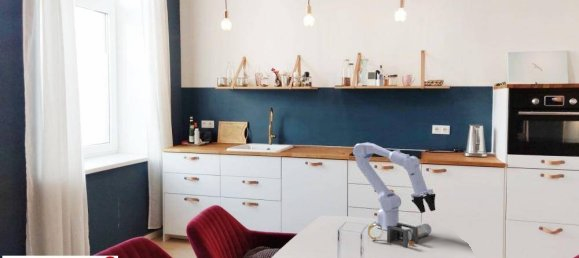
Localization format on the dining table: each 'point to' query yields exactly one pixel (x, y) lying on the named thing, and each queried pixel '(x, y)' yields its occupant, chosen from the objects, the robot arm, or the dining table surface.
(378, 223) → the alarm clock
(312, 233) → the dining table surface
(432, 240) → the dining table surface
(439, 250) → the dining table surface
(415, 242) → the black bracket with roller
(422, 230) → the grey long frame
